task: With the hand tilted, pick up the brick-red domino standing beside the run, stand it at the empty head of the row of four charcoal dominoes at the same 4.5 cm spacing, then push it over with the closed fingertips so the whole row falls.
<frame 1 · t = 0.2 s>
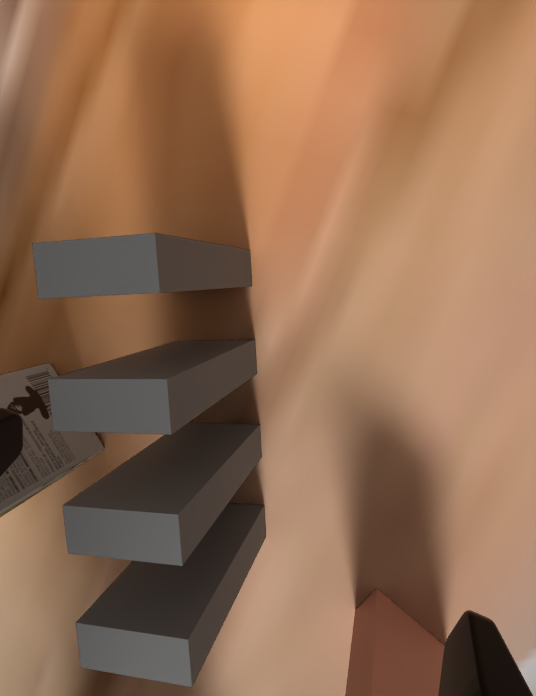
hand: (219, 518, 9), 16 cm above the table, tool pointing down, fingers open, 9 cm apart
loose domino: (399, 628, 25), on the table
domino 5: (210, 270, 25), on the table
domino 4: (215, 357, 25), on the table
domino 2: (226, 518, 27), on the table
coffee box: (30, 437, 29), on the table
domino 3: (221, 439, 26), on the table
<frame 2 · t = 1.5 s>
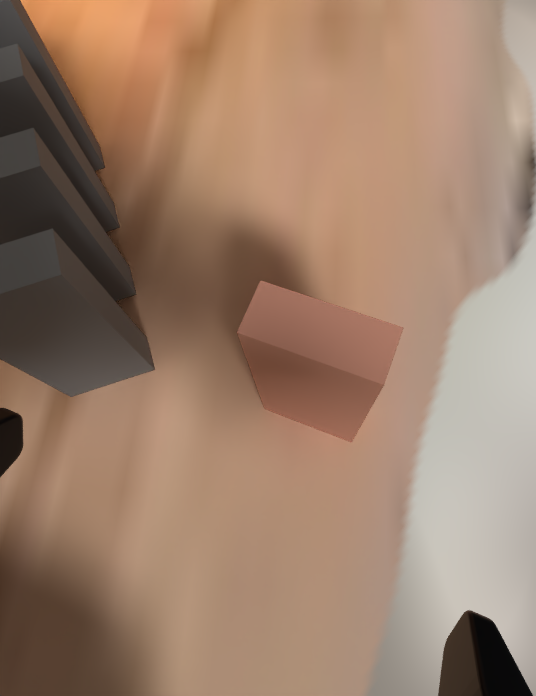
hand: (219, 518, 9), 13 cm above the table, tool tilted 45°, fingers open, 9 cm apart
loose domino: (313, 407, 23), on the table
domino 5: (67, 167, 29), on the table
domino 4: (79, 226, 28), on the table
domino 2: (109, 367, 25), on the table
domino 3: (93, 292, 26), on the table
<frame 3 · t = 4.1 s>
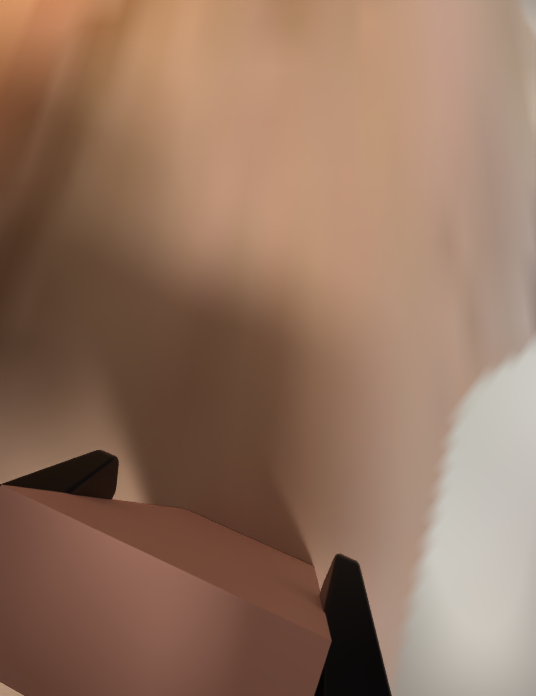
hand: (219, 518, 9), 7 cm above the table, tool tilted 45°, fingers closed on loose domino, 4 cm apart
loose domino: (236, 566, 15), on the table, touching gripper
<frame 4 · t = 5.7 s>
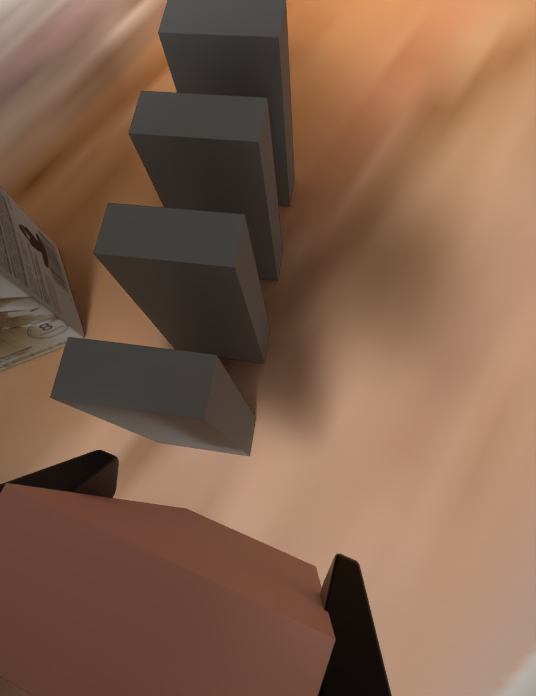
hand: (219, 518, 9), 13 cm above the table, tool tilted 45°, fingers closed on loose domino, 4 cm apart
loose domino: (237, 565, 15), point 7 cm above the table, touching gripper
domino 5: (253, 189, 27), on the table
domino 4: (239, 261, 25), on the table
domino 2: (207, 430, 23), on the table
domino 3: (224, 341, 24), on the table
when the fingers open (8 cm above the table, at t = 7.7 s): loose domino stays where it is, on the table.
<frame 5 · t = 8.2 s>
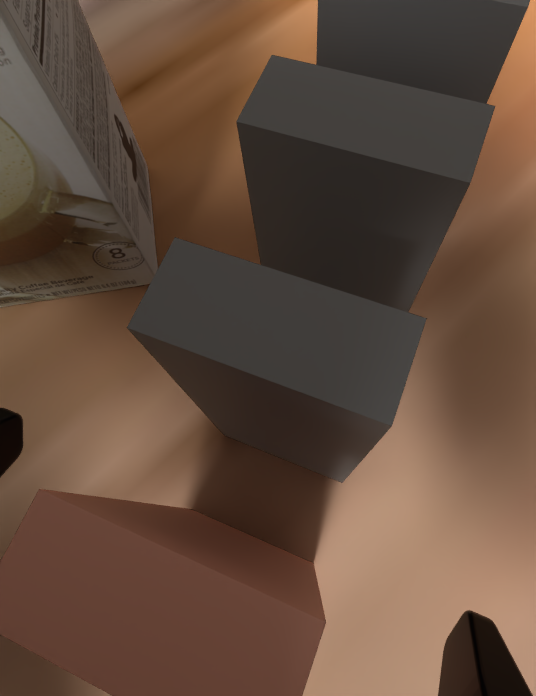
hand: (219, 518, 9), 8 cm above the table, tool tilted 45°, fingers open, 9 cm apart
loose domino: (240, 563, 16), on the table
domino 4: (371, 228, 20), on the table
domino 2: (291, 434, 17), on the table
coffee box: (55, 240, 21), on the table
domino 3: (333, 324, 18), on the table
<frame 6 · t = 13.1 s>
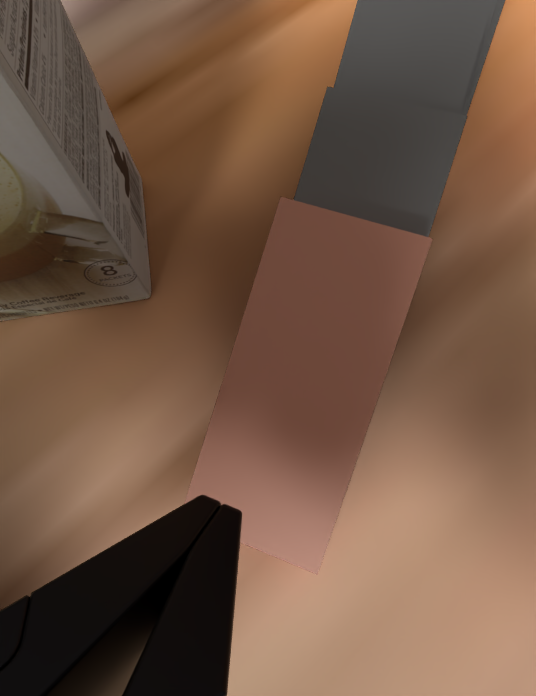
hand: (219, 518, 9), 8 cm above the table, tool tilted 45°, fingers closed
loose domino: (253, 533, 15), point 1 cm above the table, tilted 68°, touching domino 2
domino 5: (405, 129, 21), on the table, tilted 90°
domino 4: (383, 173, 19), point 1 cm above the table, tilted 67°, touching domino 3
domino 2: (304, 402, 17), point 1 cm above the table, tilted 68°, touching domino 3, loose domino
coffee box: (48, 254, 21), on the table
domino 3: (347, 272, 18), point 1 cm above the table, tilted 66°, touching domino 2, domino 4
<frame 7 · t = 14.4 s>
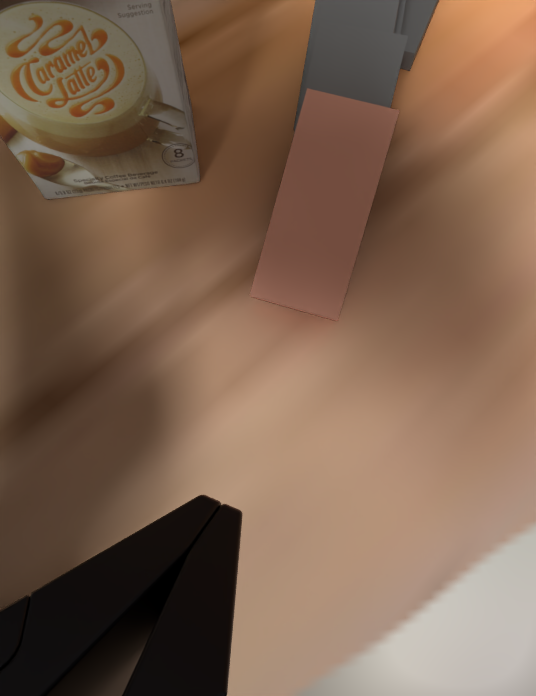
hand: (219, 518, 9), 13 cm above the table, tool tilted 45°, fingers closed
loose domino: (294, 308, 24), point 1 cm above the table, tilted 68°
domino 5: (376, 57, 30), on the table, tilted 90°, touching domino 4
domino 2: (316, 231, 25), point 1 cm above the table, tilted 69°, touching domino 3
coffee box: (122, 152, 29), on the table
domino 3: (333, 139, 27), point 1 cm above the table, tilted 68°, touching domino 2, domino 4
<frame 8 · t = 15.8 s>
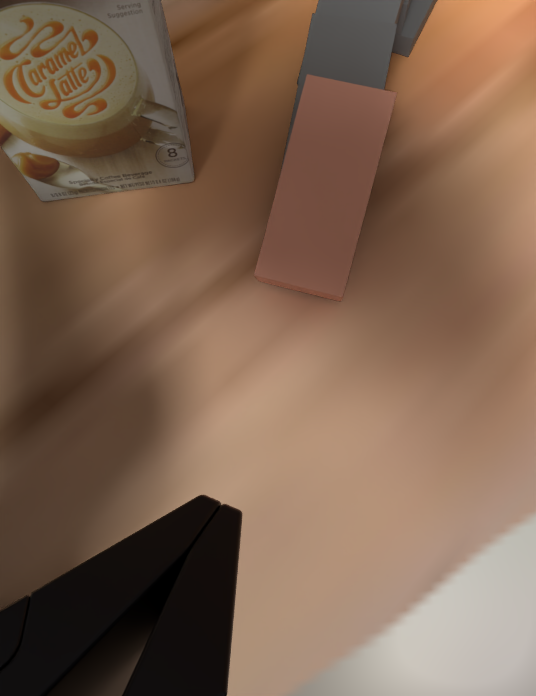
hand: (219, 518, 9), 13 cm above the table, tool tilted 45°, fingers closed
loose domino: (298, 288, 24), point 1 cm above the table, tilted 72°, touching domino 2
domino 5: (376, 42, 30), on the table, tilted 90°, touching domino 4
domino 4: (367, 13, 29), point 2 cm above the table, tilted 90°, touching domino 5
domino 2: (316, 213, 26), point 1 cm above the table, tilted 72°, touching domino 3, loose domino
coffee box: (117, 153, 29), on the table
domino 3: (334, 96, 28), point 1 cm above the table, tilted 58°, touching domino 2
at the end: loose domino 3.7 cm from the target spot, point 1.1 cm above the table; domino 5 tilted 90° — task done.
